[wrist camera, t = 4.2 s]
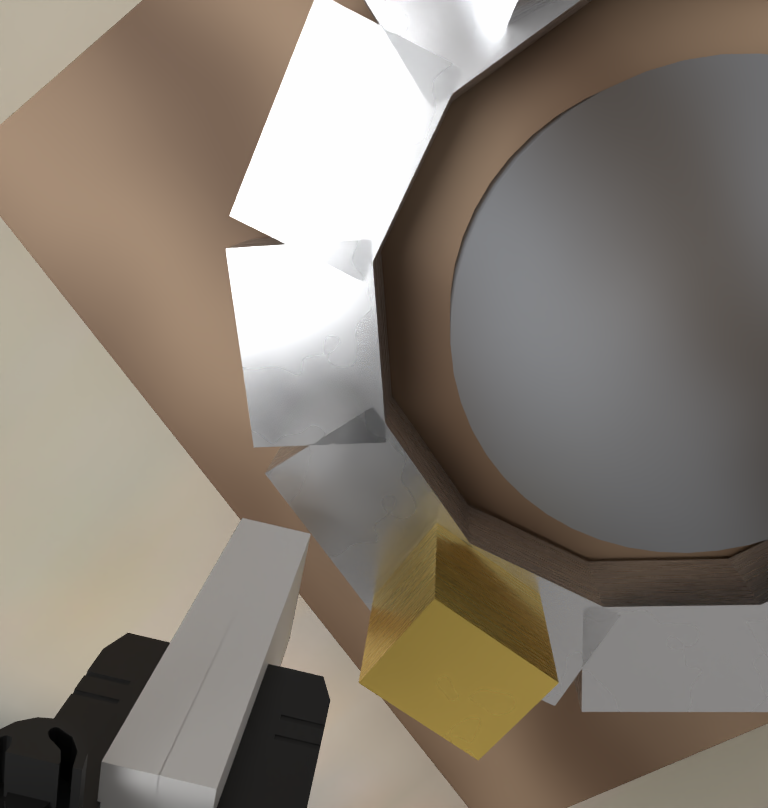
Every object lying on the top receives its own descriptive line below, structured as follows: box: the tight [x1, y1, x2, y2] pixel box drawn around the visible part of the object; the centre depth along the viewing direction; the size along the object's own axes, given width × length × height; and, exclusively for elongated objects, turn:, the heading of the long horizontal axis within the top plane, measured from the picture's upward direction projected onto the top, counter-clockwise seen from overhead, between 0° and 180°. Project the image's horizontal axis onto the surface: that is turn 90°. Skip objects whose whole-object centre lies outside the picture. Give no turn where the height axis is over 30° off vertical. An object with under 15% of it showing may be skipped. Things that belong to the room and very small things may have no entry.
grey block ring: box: [226, 0, 768, 760], centre depth 14 cm, size 19×19×5 cm
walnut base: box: [0, 0, 768, 808], centre depth 16 cm, size 24×24×4 cm
